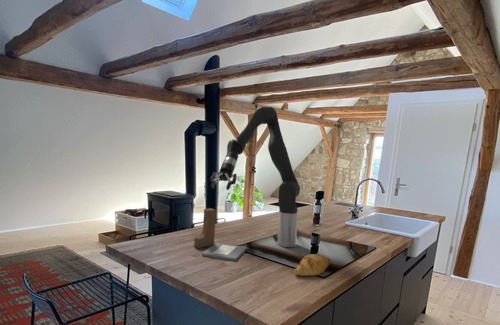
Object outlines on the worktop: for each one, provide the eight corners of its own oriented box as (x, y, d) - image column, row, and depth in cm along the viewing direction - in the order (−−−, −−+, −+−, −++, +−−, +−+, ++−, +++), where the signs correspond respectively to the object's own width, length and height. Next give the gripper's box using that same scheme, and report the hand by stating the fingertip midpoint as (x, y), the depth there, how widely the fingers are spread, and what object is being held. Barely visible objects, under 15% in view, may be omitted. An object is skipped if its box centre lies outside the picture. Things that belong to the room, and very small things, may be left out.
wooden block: (198, 248, 137) (200, 211, 136) (193, 245, 141) (195, 209, 140) (214, 245, 143) (216, 209, 142) (209, 242, 146) (211, 208, 145)
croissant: (299, 288, 109) (308, 273, 106) (283, 268, 115) (291, 253, 112) (332, 274, 122) (341, 260, 119) (316, 256, 129) (323, 243, 126)
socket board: (246, 249, 139) (246, 246, 139) (235, 261, 124) (235, 257, 123) (216, 245, 143) (216, 242, 143) (201, 255, 128) (202, 252, 128)
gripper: (215, 161, 164) (205, 182, 154) (238, 162, 160) (230, 185, 150) (218, 169, 170) (209, 191, 159) (241, 171, 166) (233, 193, 155)
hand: (219, 188), depth 154 cm, fingers open, 8 cm apart
